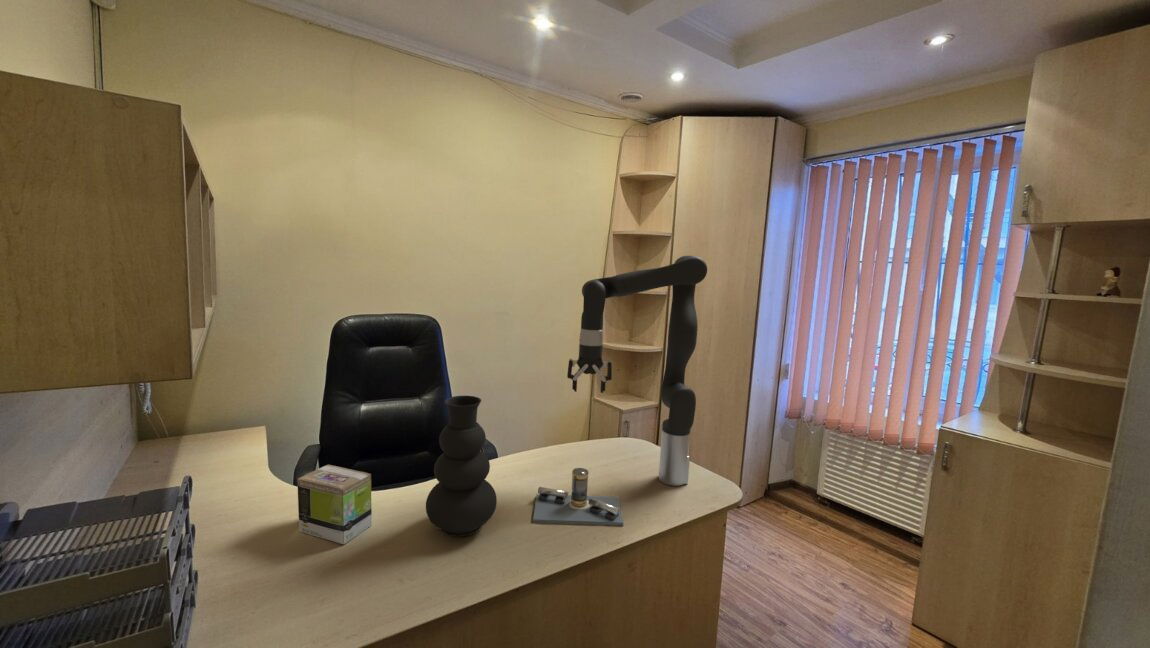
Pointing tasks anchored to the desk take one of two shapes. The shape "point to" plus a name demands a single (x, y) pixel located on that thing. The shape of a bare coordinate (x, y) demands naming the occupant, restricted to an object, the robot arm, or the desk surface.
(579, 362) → the robot arm
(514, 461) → the desk surface
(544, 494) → the shaft
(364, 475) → the tea box
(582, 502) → the banded tin drum
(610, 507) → the shaft
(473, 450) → the vase
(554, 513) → the board
